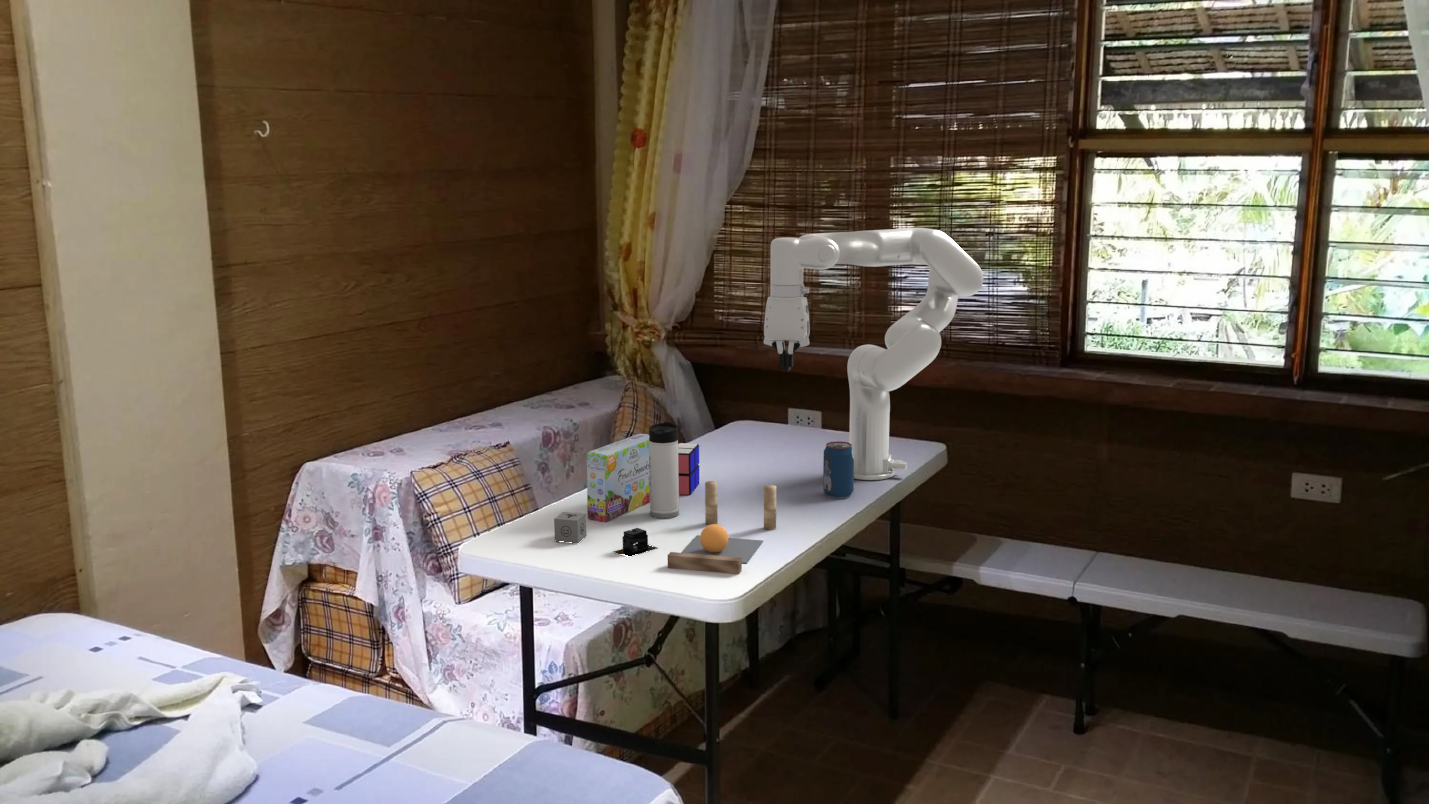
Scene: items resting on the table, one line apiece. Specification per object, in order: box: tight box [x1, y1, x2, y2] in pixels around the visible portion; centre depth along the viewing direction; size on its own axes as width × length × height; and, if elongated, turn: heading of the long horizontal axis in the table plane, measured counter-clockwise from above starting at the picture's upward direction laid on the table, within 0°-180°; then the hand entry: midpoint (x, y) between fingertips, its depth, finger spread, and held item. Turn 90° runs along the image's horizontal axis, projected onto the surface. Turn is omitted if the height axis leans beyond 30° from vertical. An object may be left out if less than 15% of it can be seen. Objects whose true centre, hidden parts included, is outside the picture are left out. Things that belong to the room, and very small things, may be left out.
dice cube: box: [553, 511, 588, 544], centre depth 253 cm, size 5×5×5 cm
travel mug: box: [648, 421, 680, 519], centre depth 268 cm, size 6×7×20 cm
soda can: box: [822, 440, 855, 499], centre depth 282 cm, size 7×7×12 cm
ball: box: [699, 524, 729, 553], centre depth 244 cm, size 6×6×6 cm
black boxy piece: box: [613, 527, 658, 557], centre depth 246 cm, size 12×7×5 cm, turn 135°
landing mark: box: [680, 534, 764, 564], centre depth 246 cm, size 14×14×1 cm
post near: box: [763, 484, 777, 531], centre depth 259 cm, size 3×3×9 cm
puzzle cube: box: [678, 442, 700, 496], centre depth 289 cm, size 10×10×10 cm
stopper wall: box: [667, 551, 743, 575], centre depth 235 cm, size 14×2×2 cm, turn 75°
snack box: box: [586, 433, 650, 523], centre depth 273 cm, size 21×6×15 cm, turn 151°
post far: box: [704, 480, 719, 526], centre depth 262 cm, size 3×3×9 cm
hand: (786, 370), depth 289 cm, fingers closed
